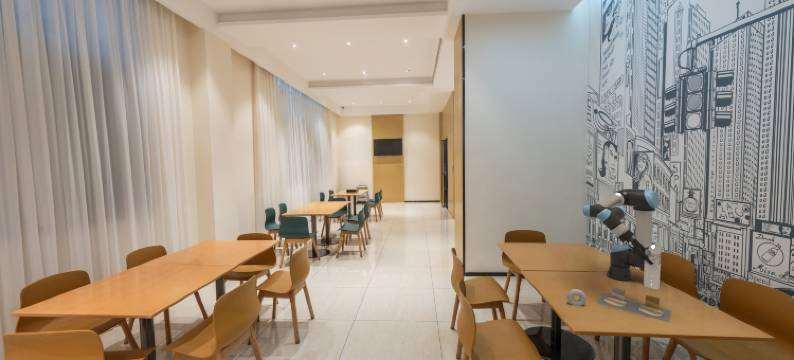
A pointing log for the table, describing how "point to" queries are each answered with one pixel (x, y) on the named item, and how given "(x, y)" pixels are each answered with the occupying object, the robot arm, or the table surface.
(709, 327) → the table surface
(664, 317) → the board
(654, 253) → the water bottle
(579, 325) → the table surface
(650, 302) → the ochre tag coaster
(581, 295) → the donut
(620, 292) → the white tag coaster
